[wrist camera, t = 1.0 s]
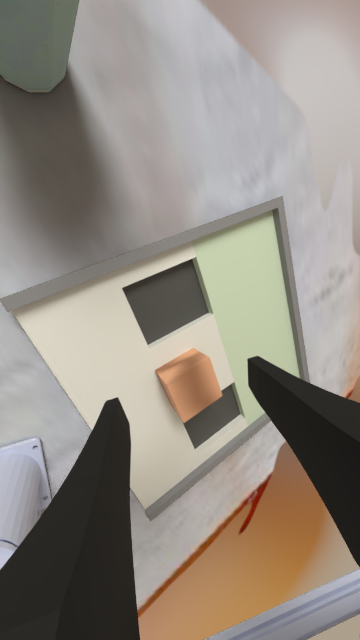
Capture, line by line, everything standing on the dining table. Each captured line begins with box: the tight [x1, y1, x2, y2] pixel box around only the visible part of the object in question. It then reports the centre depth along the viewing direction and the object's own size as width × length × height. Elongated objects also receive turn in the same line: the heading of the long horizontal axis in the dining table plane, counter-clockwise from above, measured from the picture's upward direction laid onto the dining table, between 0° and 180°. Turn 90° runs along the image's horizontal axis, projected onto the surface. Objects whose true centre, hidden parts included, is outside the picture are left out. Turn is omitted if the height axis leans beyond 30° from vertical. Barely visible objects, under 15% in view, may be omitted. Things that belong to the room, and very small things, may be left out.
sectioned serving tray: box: [0, 196, 310, 521], centre depth 31 cm, size 35×34×2 cm
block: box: [155, 348, 223, 423], centre depth 27 cm, size 6×6×4 cm
